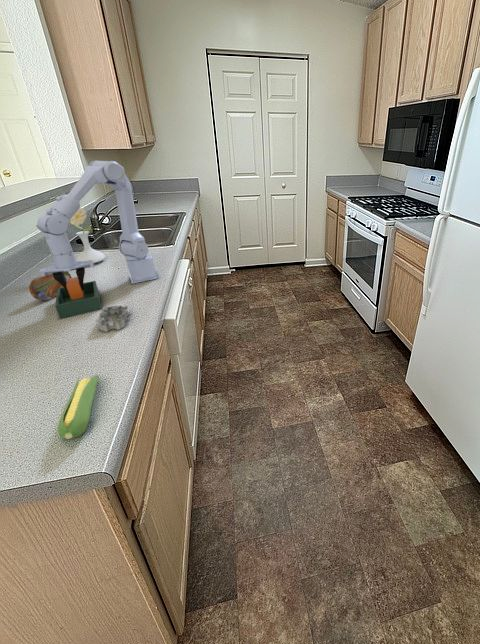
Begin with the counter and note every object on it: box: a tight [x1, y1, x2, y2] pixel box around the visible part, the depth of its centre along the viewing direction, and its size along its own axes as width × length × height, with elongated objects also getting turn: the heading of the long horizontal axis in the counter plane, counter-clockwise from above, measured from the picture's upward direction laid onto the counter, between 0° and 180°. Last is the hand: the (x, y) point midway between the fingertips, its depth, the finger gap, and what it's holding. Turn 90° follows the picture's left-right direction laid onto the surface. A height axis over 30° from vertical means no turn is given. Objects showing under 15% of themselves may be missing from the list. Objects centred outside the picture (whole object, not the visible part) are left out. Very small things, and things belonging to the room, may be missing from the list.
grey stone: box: [95, 305, 130, 333], centre depth 101 cm, size 11×8×4 cm
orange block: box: [66, 276, 84, 300], centre depth 111 cm, size 4×7×5 cm, turn 31°
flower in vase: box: [69, 207, 106, 265], centre depth 144 cm, size 13×11×25 cm
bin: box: [54, 280, 102, 320], centre depth 113 cm, size 12×16×4 cm
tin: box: [28, 271, 72, 301], centre depth 119 cm, size 15×3×8 cm, turn 168°
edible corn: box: [57, 374, 99, 440], centre depth 70 cm, size 5×20×5 cm, turn 19°
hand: (76, 290), depth 111 cm, fingers closed on orange block, 3 cm apart
